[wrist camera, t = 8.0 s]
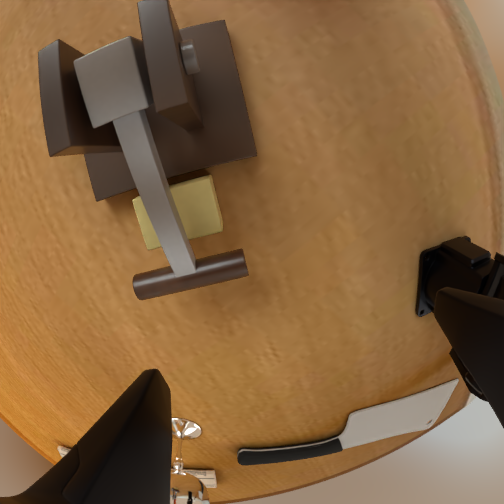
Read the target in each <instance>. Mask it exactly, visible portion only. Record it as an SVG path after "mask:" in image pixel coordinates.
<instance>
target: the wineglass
mask: <svg viewBox="0 0 504 504" xmlns="http://www.w3.org/2000/svg"><path fill="white" fill-rule="evenodd" d="M201 432H202V430H201V428H200V427H199V426H198V425H197V424H196V423H194V422H192V421H189V420H186V419H181V418H172V438H175V439H177V453H176V456H175V459H174V462H173V467H174V469H175V470H171V485H170V504H209V494H208V491H207V488H206V486H205V485H204V483H203V482H202V481H201V480H200V479H198V478H197V477H195V476H193V475H191V474H188V473H186V472H182V471H181V470H182V469H183V465H184V464H183V460H182V453H181V448H182V440H191V439H195V438H197V437H199V436H200V435H201Z"/></svg>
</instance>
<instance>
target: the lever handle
mask: <svg viewBox="0 0 504 504" xmlns="http://www.w3.org/2000/svg"><path fill="white" fill-rule="evenodd" d="M74 66H75V70H76V74H77V78H78V81H79V85H80V88H81V92H82V95H83V98H84V102H85V105H86V108H87V111H88V114H89V117H90V120H91V123H92V126H93V128H97V127H99V126H101V125H104V124H106V123H109V122H111V121H113V124H114V127H115V130H116V133H117V136H118V139H119V142H120V144H121V147H122V150H123V153H124V156H125V158H126V161H127V164H128V166H129V169H130V172H131V174H132V177H133V180H134V182H135V185H136V187H137V190H138V192H139V195H140V197H141V200H142V202H143V205H144V207H145V209H146V212H147V214H148V217H149V219H150V221H151V224H152V226H153V228H154V230H155V233H156V235H157V237H158V239H159V242H160V244H161V246H162V248H163V250H164V253H165V255H166V257H167V259H168V261H169V263H170V266H168V267H164V268H160V269H156V270H151V271H147V272H143V273H139V274H136V275H134V277H133V288H134V292H135V294H136V296H137V298H138V299H139V300H146V299H150V298H155V297H159V296H164V295H169V294H173V293H177V292H182V291H186V290H191V289H195V288H199V287H204V286H208V285H212V284H217V283H221V282H225V281H230V280H234V279H238V278H242V277H246V276H249V274H248V269H247V265H246V261H245V257H244V253H243V249H237V250H233V251H229V252H225V253H221V254H217V255H213V256H209V257H204V258H200V259H196V258H195V256H194V253H193V250H192V248H191V245H190V243H189V240H188V237H187V235H186V232H185V229H184V227H183V224H182V221H181V219H180V216H179V213H178V210H177V208H176V205H175V202H174V199H173V196H172V193H171V191H170V188H169V185H168V182H167V179H166V176H165V173H164V170H163V167H162V164H161V161H160V158H159V155H158V152H157V149H156V146H155V142H154V139H153V136H152V133H151V130H150V126H149V123H148V120H147V116H146V113H145V110H144V109H146V108H148V107H149V106H150V105H152V104H153V103H154V100H153V95H152V90H151V85H150V80H149V75H148V69H147V64H146V58H145V52H144V46H143V41H142V40H139V39H137V38H134V37H131V36H128V37H125V38H123V39H120V40H118V41H115V42H113V43H110V44H108V45H106V46H104V47H101V48H99V49H97V50H95V51H93V52H91V53H88V54H86V55H84V56H82V57H80V58H78V59H77V60H75V61H74Z"/></svg>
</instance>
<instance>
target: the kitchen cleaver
mask: <svg viewBox="0 0 504 504" xmlns="http://www.w3.org/2000/svg"><path fill="white" fill-rule="evenodd" d="M458 381H459V379H455V380H452V381H450V382H447V383H444V384H441V385H439V386H436V387H434V388H431V389H428V390H425V391H422V392H420V393H417V394H414V395H411V396H408V397H405V398H401V399H398V400H394V401H391V402H387V403H384V404H380V405H376V406H372V407H369V408H365V409H361V410H358V411H355V412H353V413H351V414H350V415H349V417H348V421H347V425H346V427H345V430H344V431H343V433H342V434H340V435H339V436H333V437H331V438H328V439H325V440H321V441H316V442H311V443H304V444H297V445H289V446H280V447H270V448H240V449H239V450H238V452H237V459H238V463H239V464H241V465H256V464H268V463H278V462H286V461H293V460H300V459H307V458H313V457H318V456H323V455H328V454H332V453H336V452H340V451H342V450H343V449H346V448H350V447H354V446H358V445H362V444H366V443H370V442H374V441H377V440H381V439H385V438H388V437H392V436H397V435H401V434H405V433H409V432H414V431H420V430H425V429H428V428H430V427H431V426H432V425H433V424H434V423H435V421H436V420H437V418H438V417H439V415H440V414H441V412H442V410H443V409H444V407H445V405H446V403H447V402H448V400H449V398H450V396H451V394H452V392H453V390H454V389H455V387H456V385H457V383H458ZM430 420H431V421H430ZM428 421H430V422H429V423H428V424H427V422H428Z"/></svg>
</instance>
